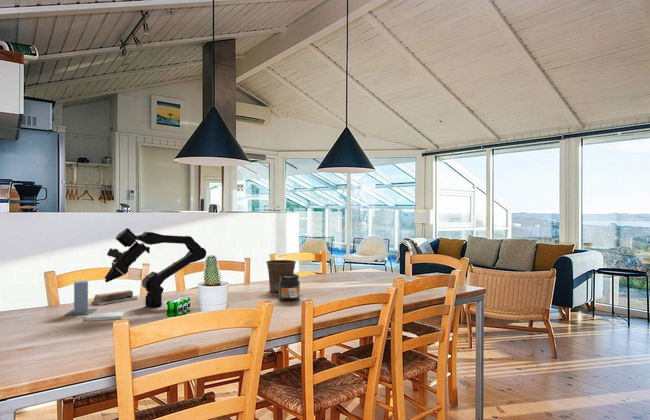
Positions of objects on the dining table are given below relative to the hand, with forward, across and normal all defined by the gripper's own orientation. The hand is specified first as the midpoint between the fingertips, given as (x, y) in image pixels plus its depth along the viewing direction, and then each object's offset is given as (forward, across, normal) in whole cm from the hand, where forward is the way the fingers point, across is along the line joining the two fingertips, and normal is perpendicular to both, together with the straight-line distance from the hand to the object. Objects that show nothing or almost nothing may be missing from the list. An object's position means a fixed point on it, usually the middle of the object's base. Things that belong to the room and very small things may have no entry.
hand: (105, 280), depth 195 cm
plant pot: (-52, -11, +71) cm, 88 cm away
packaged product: (+7, -21, +13) cm, 26 cm away
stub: (+16, -2, +3) cm, 16 cm away
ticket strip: (+10, +13, +9) cm, 19 cm away
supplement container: (-48, +13, +68) cm, 84 cm away
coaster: (+16, -2, +3) cm, 17 cm away
